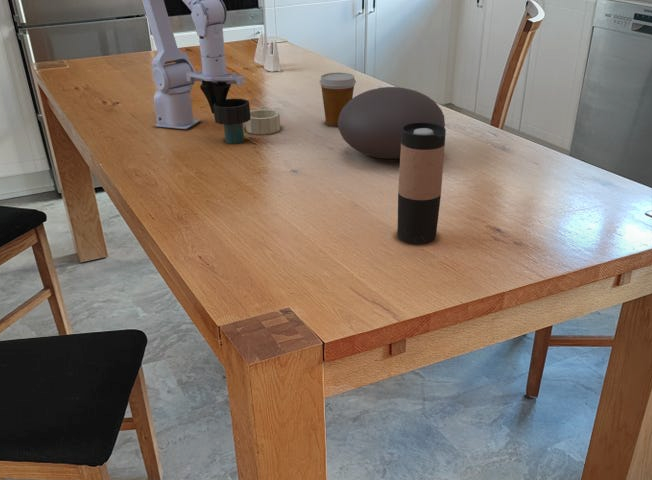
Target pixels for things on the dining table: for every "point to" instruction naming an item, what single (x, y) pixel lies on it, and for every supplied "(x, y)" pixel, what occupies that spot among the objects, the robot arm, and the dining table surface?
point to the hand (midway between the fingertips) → (218, 112)
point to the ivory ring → (263, 121)
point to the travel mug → (420, 181)
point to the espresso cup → (234, 133)
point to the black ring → (232, 112)
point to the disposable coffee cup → (336, 94)
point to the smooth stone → (385, 119)
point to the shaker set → (267, 54)
